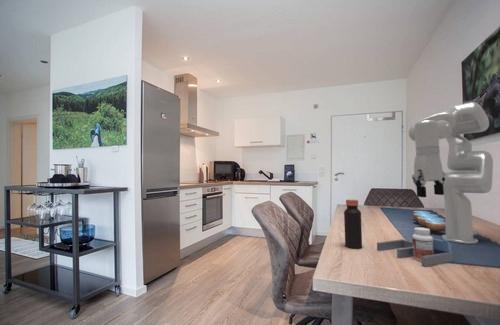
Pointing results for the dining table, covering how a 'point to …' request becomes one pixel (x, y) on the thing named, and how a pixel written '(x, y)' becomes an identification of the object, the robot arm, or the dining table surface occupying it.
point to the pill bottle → (422, 243)
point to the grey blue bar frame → (440, 256)
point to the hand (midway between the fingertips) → (430, 195)
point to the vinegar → (352, 225)
